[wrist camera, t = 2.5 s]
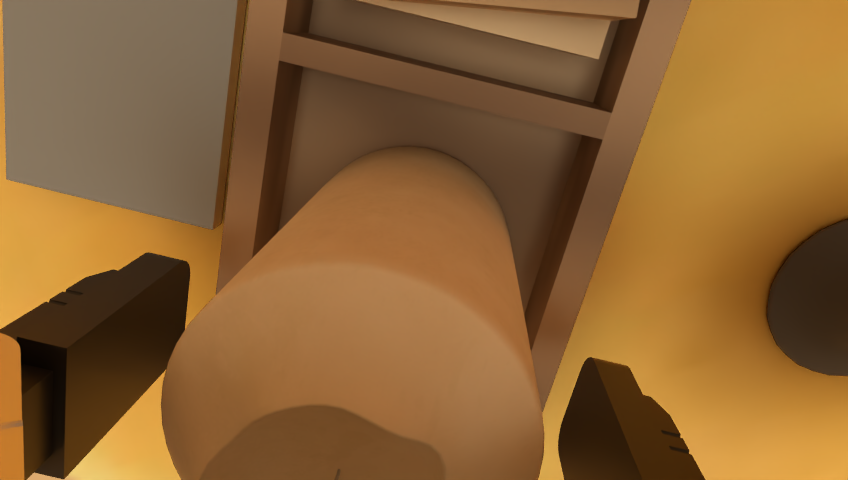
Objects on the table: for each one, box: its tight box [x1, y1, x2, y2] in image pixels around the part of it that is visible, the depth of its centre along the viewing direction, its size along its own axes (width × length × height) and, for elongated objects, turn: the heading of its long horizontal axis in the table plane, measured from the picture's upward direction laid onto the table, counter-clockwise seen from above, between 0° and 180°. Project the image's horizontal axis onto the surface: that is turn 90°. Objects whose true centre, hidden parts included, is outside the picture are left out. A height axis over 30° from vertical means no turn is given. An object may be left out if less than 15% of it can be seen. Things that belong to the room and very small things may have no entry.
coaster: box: [3, 0, 247, 230], centre depth 16 cm, size 7×6×1 cm
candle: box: [161, 146, 544, 480], centre depth 12 cm, size 6×6×10 cm
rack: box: [216, 0, 691, 412], centre depth 13 cm, size 17×9×5 cm, turn 167°
